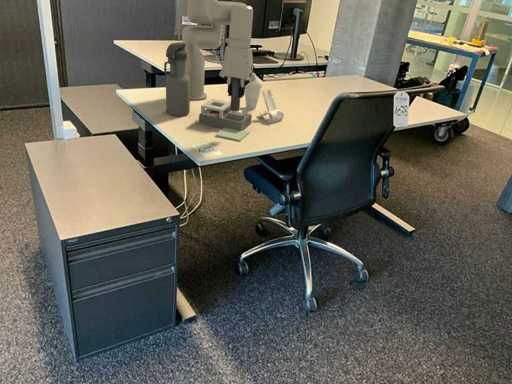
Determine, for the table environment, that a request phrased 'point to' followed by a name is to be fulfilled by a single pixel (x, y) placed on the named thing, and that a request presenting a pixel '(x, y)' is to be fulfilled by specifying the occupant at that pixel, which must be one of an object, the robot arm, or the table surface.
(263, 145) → the table surface
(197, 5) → the robot arm
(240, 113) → the on button
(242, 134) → the mat
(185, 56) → the water bottle
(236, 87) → the stylus
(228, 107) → the grey push-button box
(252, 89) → the soft serve ice cream cone
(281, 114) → the plastic part
